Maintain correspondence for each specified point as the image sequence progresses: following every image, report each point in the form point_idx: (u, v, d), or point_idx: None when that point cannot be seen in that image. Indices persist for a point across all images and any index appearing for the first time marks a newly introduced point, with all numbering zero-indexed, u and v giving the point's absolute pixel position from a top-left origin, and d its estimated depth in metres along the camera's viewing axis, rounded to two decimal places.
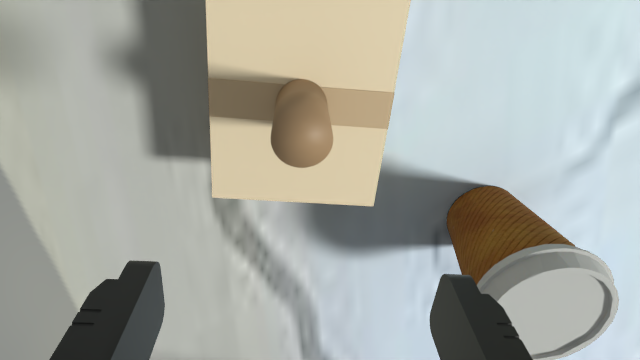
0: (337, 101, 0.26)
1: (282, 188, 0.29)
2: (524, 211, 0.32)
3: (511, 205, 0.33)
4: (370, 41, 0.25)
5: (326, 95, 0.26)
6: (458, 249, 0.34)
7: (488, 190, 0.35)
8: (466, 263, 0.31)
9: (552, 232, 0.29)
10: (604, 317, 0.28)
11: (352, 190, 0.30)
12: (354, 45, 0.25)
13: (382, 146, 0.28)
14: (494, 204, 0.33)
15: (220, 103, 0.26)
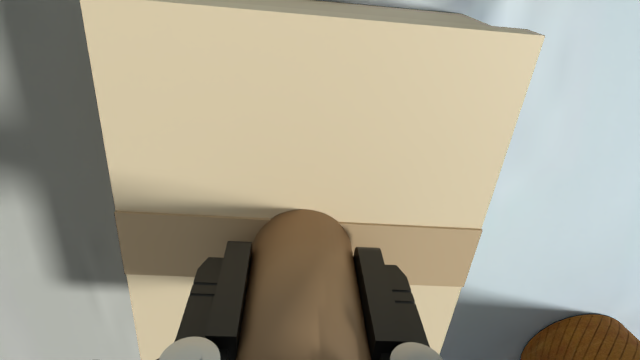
0: (371, 244, 0.14)
1: None
2: None
3: None
4: (443, 141, 0.12)
5: (350, 237, 0.13)
6: None
7: (593, 326, 0.23)
8: None
9: None
10: None
11: None
12: (410, 149, 0.12)
13: (450, 311, 0.15)
14: None
15: (143, 254, 0.13)
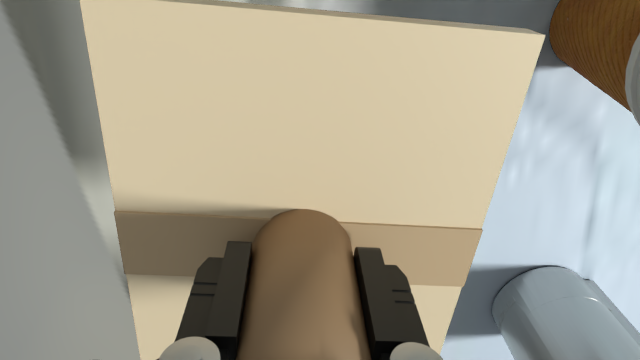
0: (371, 244, 0.14)
1: None
2: None
3: None
4: (443, 141, 0.12)
5: (350, 236, 0.13)
6: (583, 31, 0.25)
7: None
8: (606, 30, 0.23)
9: None
10: None
11: None
12: (410, 148, 0.12)
13: (450, 311, 0.15)
14: None
15: (143, 254, 0.13)
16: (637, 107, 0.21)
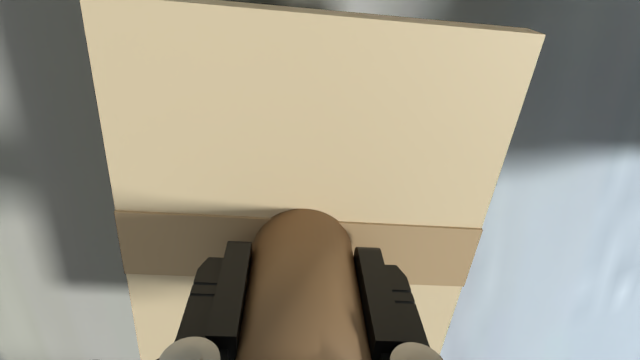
0: (371, 244, 0.14)
1: None
2: None
3: None
4: (444, 140, 0.12)
5: (351, 236, 0.13)
6: None
7: None
8: None
9: None
10: None
11: None
12: (410, 148, 0.12)
13: (450, 311, 0.15)
14: None
15: (143, 253, 0.13)
16: None
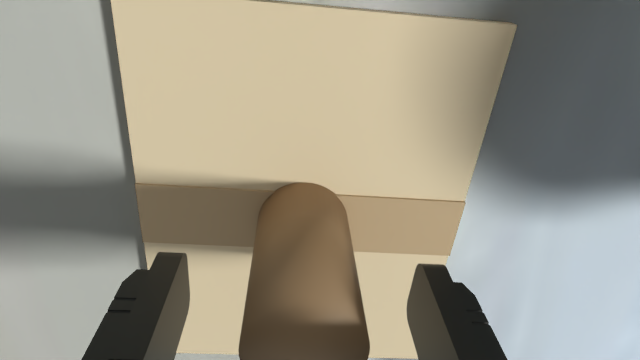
0: (365, 215, 0.15)
1: None
2: None
3: None
4: (429, 120, 0.14)
5: (346, 208, 0.15)
6: None
7: None
8: None
9: None
10: None
11: (385, 339, 0.18)
12: (399, 127, 0.14)
13: None
14: None
15: (160, 223, 0.15)
16: None
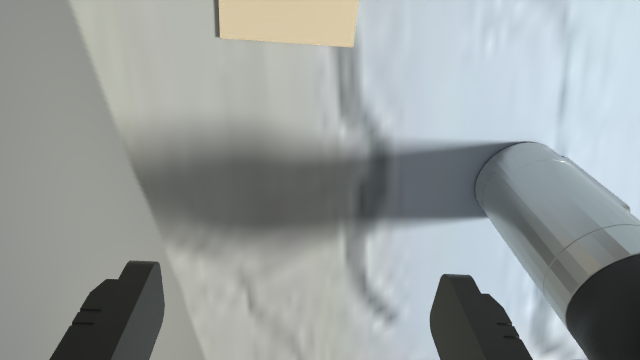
0: None
1: (277, 29, 0.36)
2: None
3: None
4: None
5: None
6: None
7: None
8: None
9: None
10: None
11: (335, 31, 0.36)
12: None
13: None
14: None
15: None
16: None
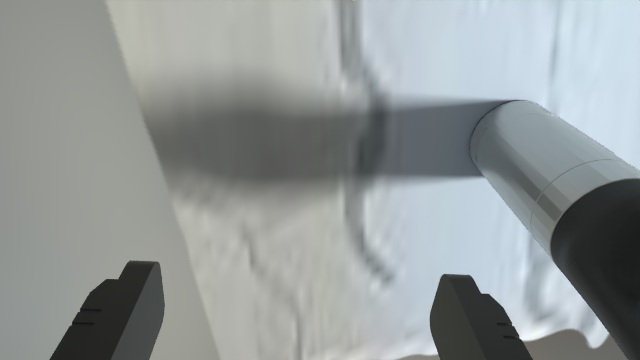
0: None
1: None
2: None
3: None
4: None
5: None
6: None
7: None
8: None
9: None
10: None
11: None
12: None
13: None
14: None
15: None
16: None
